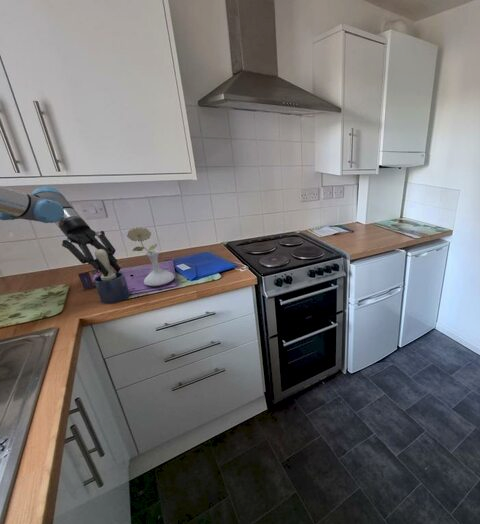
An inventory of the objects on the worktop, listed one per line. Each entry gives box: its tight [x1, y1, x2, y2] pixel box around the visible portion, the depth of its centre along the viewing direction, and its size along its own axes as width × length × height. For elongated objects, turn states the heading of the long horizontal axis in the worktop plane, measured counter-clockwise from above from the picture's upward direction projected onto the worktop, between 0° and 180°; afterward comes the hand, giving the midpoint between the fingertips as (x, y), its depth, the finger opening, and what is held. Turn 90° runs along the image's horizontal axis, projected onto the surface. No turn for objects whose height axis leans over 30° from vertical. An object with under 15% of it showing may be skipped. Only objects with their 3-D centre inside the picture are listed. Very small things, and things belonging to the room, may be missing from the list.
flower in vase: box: [126, 226, 175, 287], centre depth 124 cm, size 13×11×25 cm
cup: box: [93, 271, 131, 304], centre depth 115 cm, size 9×9×9 cm
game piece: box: [94, 249, 117, 281], centre depth 111 cm, size 5×5×12 cm
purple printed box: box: [77, 269, 102, 290], centre depth 126 cm, size 7×5×9 cm
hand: (112, 272), depth 111 cm, fingers closed on game piece, 3 cm apart
